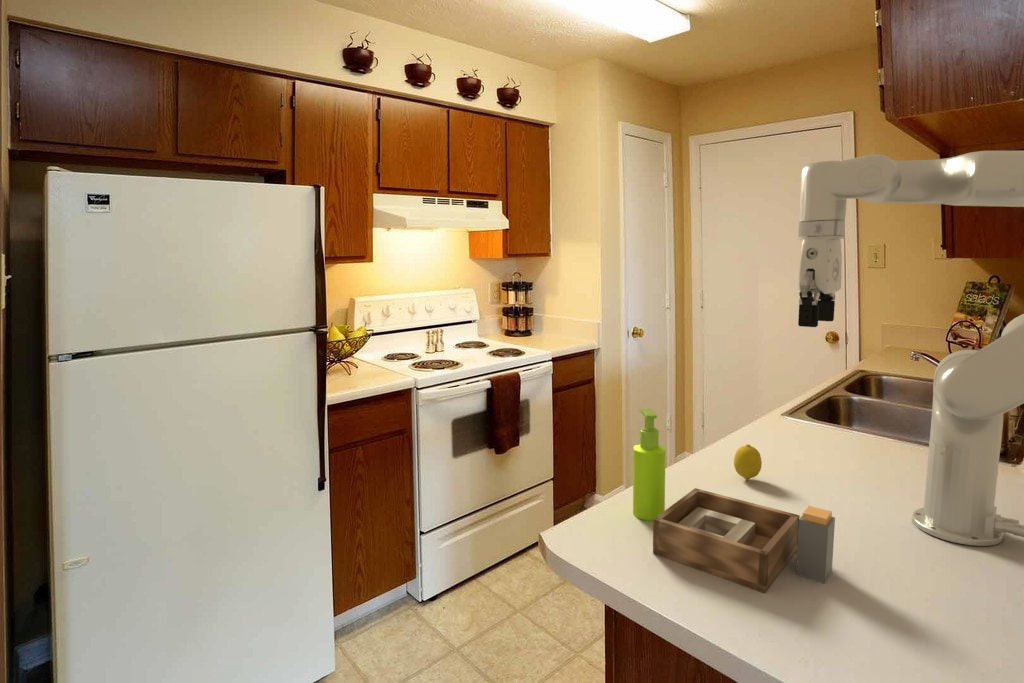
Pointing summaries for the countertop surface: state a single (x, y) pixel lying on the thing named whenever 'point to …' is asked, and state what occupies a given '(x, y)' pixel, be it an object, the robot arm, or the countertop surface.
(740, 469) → the lemon
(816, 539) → the plug
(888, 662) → the countertop surface
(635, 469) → the soap dispenser
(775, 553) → the crate
